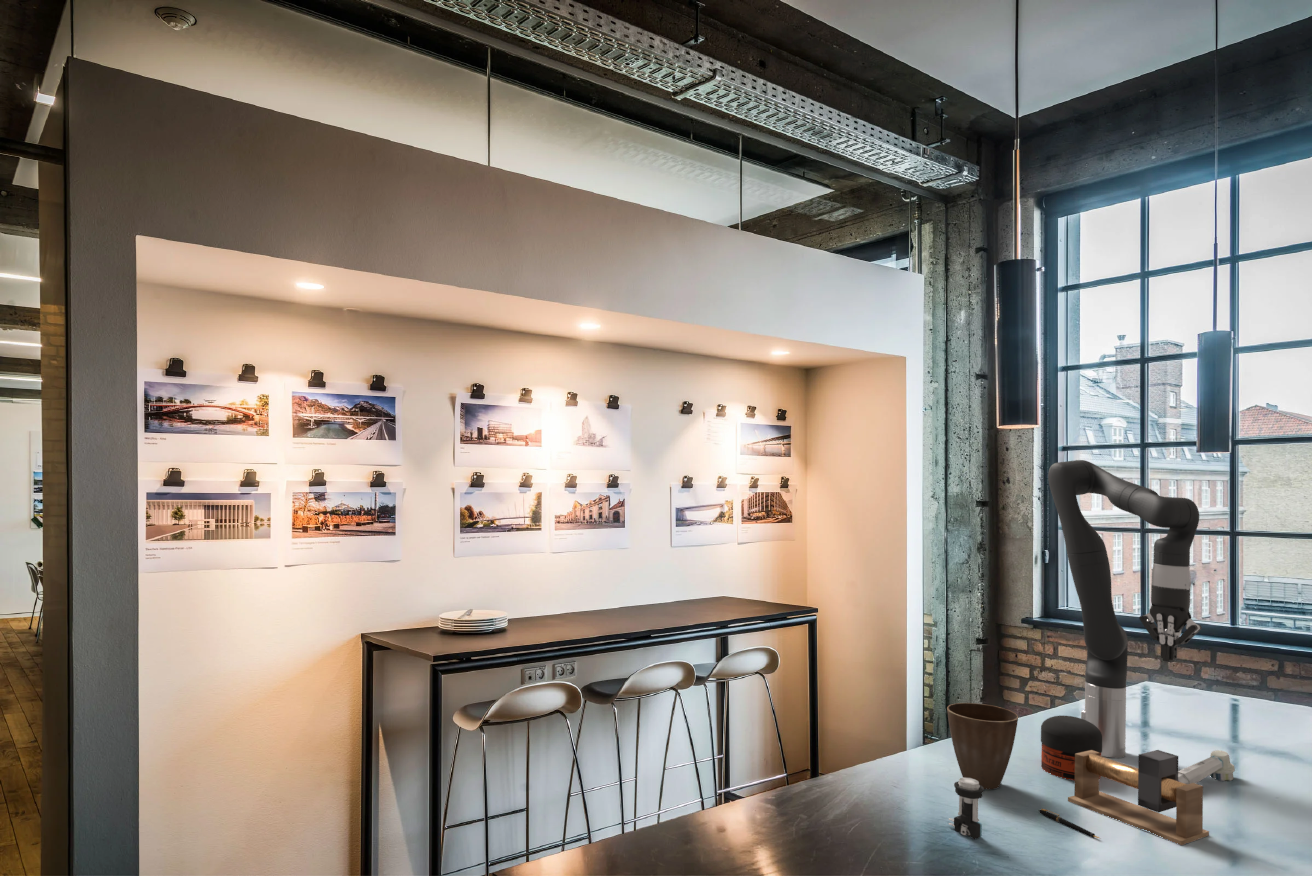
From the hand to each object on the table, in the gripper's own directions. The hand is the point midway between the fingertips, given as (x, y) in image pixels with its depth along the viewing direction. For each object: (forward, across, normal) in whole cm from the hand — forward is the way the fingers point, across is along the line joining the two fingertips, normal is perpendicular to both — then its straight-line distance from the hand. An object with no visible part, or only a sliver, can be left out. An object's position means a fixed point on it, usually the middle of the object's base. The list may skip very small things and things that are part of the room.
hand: (1168, 661), depth 184 cm
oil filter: (+29, -16, -10) cm, 35 cm away
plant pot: (+30, -20, -37) cm, 51 cm away
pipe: (+23, +6, -22) cm, 33 cm away
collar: (+25, +11, -22) cm, 35 cm away
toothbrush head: (+29, +1, +12) cm, 32 cm away
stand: (+29, +6, -22) cm, 37 cm away
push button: (+29, -4, -61) cm, 68 cm away
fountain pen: (+29, +3, -40) cm, 49 cm away
